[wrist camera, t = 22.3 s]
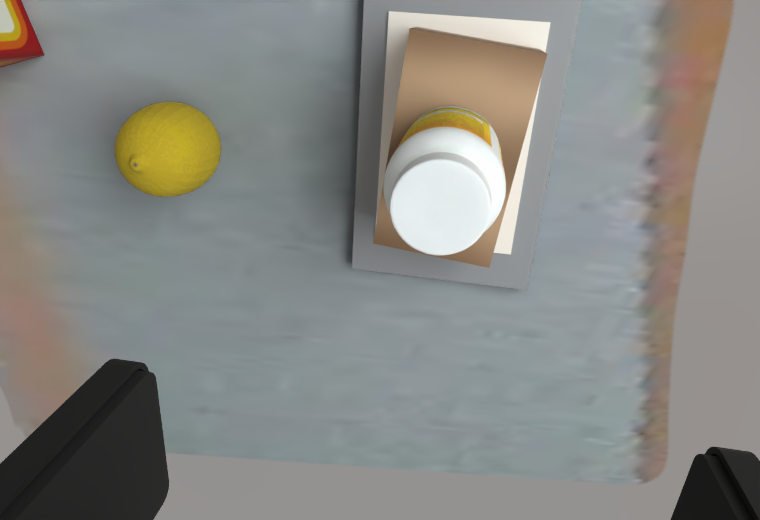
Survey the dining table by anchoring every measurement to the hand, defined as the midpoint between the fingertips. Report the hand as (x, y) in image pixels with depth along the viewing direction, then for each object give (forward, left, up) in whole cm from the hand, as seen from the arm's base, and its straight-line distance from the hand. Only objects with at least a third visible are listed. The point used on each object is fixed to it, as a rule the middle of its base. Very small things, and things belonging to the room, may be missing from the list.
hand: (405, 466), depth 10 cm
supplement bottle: (0, 0, -23) cm, 23 cm away
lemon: (+1, -17, -28) cm, 33 cm away
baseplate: (0, 0, -28) cm, 28 cm away
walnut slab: (0, 0, -27) cm, 27 cm away
